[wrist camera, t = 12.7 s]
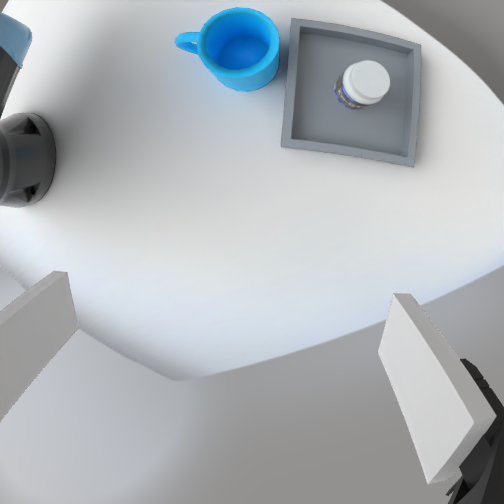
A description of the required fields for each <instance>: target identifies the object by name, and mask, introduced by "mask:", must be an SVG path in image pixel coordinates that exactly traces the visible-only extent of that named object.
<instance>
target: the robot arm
mask: <svg viewBox="0 0 504 504" xmlns="http://www.w3.org/2000/svg"><path fill="white" fill-rule="evenodd" d="M31 42H32V33H31V31H30V29H29V28H28V27H27V26H25V25H24V24H22V23H21V22H19V21H17V20H15V19H13V18H12V17H10V16H8V15H6V14H4V13H1V12H0V118H1V115H2V112H3V110H4V107H5V104H6V102H7V99H8V96H9V94H10V91H11V89H12V87H13V84H14V82H15V79H16V77H17V75H18V73H19V70H20V69H22V66H23V64H22V63H23V60H24V58H25V56H26V53H27V51H28V49H29V47H30V44H31ZM55 161H56V152H55V143H54V139H53V135H52V133H51V130H50V128H49V126H48V125H47V123H46V122H45V121H44V120H43V119H42V118H41V117H40V116H38V115H36V114H32V113H18V114H14V115H11V116H9V117H7V118H5V119H3V120H1V121H0V206H8V207H15V208H19V207H25V206H28V205H31V204H33V203H35V202H37V201H38V200H40V199H41V198H42V197H43V195H44V194H45V193H46V191H47V190H48V188H49V186H50V183H51V181H52V178H53V174H54V169H55ZM78 329H79V325H78V321H77V317H76V312H75V308H74V304H73V299H72V294H71V289H70V284H69V279H68V274H67V272H60V271H53V272H52V273H50V274H49V275H48V276H46V277H45V278H43V279H42V280H41V281H39V282H38V283H37V284H35V285H34V286H32V287H31V288H30V289H28V290H27V291H26V292H24V293H23V294H22V295H20V296H19V297H18V298H16V299H15V300H14V301H12V302H11V303H10V304H9V305H7V306H6V307H5V308H3V309H2V310H1V311H0V422H1V420H2V419H3V418H4V416H5V415H6V414H7V413H8V411H9V410H10V409H11V407H12V406H13V405H14V404H15V402H16V401H17V400H18V399H19V397H20V396H21V395H22V394H23V393H24V391H25V390H26V389H27V388H28V386H29V385H30V384H31V383H32V381H33V380H34V379H35V378H36V377H37V376H38V374H39V373H40V372H41V371H42V369H43V368H44V367H45V366H46V365H47V364H48V363H49V361H50V360H51V359H52V358H53V357H54V356H55V354H56V353H57V352H58V351H59V350H60V349H61V348H62V346H63V345H64V344H65V343H66V342H67V341H68V340H69V339H70V337H71V336H72V335H73V334H74V333H75V332H76V331H77V330H78ZM378 354H379V356H380V359H381V361H382V363H383V366H384V368H385V370H386V373H387V375H388V378H389V380H390V382H391V385H392V387H393V390H394V392H395V395H396V397H397V400H398V403H399V405H400V408H401V410H402V413H403V415H404V418H405V421H406V423H407V426H408V429H409V431H410V434H411V437H412V440H413V442H414V445H415V448H416V451H417V454H418V456H419V459H420V462H421V465H422V468H423V471H424V474H425V477H426V480H427V484H431V483H435V482H439V481H443V480H446V479H449V478H450V477H451V476H452V475H453V474H454V473H455V472H456V470H457V469H458V468H460V470H461V472H462V476H461V478H460V479H459V480H458V481H457V482H456V483H455V484H454V485H453V486H452V488H451V489H449V491H448V492H447V494H446V495H447V496H449V494H451V493H452V492H453V491H454V492H453V494H452V496H451V498H450V501H449V503H448V504H504V407H503V405H502V404H501V402H500V401H499V399H498V398H497V396H496V395H495V393H494V392H493V390H492V389H491V388H489V384H488V383H487V382H486V380H484V379H483V376H482V374H481V373H480V372H479V370H478V369H477V367H476V366H474V365H473V364H472V363H470V362H469V361H467V360H466V359H459V358H458V357H457V355H456V354H455V352H454V351H453V349H452V348H451V347H450V345H449V344H448V342H447V341H446V340H445V338H444V337H443V336H442V334H441V333H440V332H439V330H438V329H437V327H436V326H435V325H434V323H433V322H432V321H431V320H430V318H429V317H428V316H427V314H426V313H425V312H424V310H423V309H422V308H421V307H420V305H419V304H418V303H417V301H416V300H415V299H414V298H413V296H412V295H411V294H393V297H392V301H391V305H390V309H389V313H388V317H387V321H386V325H385V328H384V332H383V336H382V339H381V343H380V347H379V350H378Z"/></svg>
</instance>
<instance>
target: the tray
mask: <svg viewBox="0 0 504 504" xmlns="http://www.w3.org/2000/svg"><path fill="white" fill-rule="evenodd" d="M365 60H371V61H375V62H377V63H379V64H380V65H382V66H383V67H384V68H385V69H386V71H387V72H388V74H389V77H390V87H389V90H388V91H387V93H386V94H385V95H384V96H383V98H382V99H381V100H380V101H378V102H377V103H375V104H372V105H369V106H367V107H364V108H361V109H357V110H352V109H348V108H346V107H344V106H343V105H341V104H340V103H339V102H338V101H337V99H336V97H335V95H334V84H335V82H336V80H337V79H338V77H339V76H340V75H341V74H342V73H343V72H344V71H345V70H346V69H347V68H348V67H349V66H350V65H352V64H354V63H358V62H361V61H365ZM420 87H421V45H420V44H417V43H413V42H410V41H407V40H403V39H400V38H396V37H392V36H389V35H385V34H381V33H377V32H372V31H368V30H364V29H359V28H354V27H349V26H344V25H338V24H332V23H326V22H319V21H312V20H304V19H295V18H292V19H291V30H290V44H289V57H288V69H287V81H286V93H285V105H284V117H283V128H282V139H281V147H287V148H297V149H305V150H313V151H321V152H328V153H335V154H342V155H348V156H355V157H361V158H367V159H373V160H378V161H384V162H389V163H394V164H399V165H404V166H409V167H414V162H415V153H416V144H417V134H418V122H419V107H420Z"/></svg>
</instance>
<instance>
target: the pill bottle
mask: <svg viewBox="0 0 504 504" xmlns="http://www.w3.org/2000/svg"><path fill="white" fill-rule="evenodd" d="M389 87H390V77H389V74H388V72H387V71H386V69H385V68H384V67H383V66H382V65H380V64H379V63H377V62H375V61H371V60H365V61H361V62H358V63H354V64H352V65H350V66H349V67H348V68H347V69H346V70H345V71H344V72H343V73H342V74H341V75H340V76H339V77H338V79H337V80H336V82H335V84H334V95H335V97H336V99H337V101H338V102H339V103H340V104H341V105H343V106H344V107H346V108H348V109H352V110H357V109H361V108H364V107H367V106H369V105H372V104H375V103H377V102H378V101H380V100H381V99H382V98H383V96H384V95H385V94H386V93H387V91H388V90H389Z"/></svg>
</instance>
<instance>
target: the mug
mask: <svg viewBox="0 0 504 504" xmlns="http://www.w3.org/2000/svg"><path fill="white" fill-rule="evenodd" d="M191 42H197V44H194V43H191ZM175 43H176V46H177V47H179V48H181V49H183V50H186V51H188V52H191V53H195V54H198V55H199V57H200V58H201V60H202V61H203V63H204V65H205V66H206V67H207V68H208V69H209V70H210V71H211V72H212V73H213V74H214V75H215V76H216V77H217V79H218V80H219V81H220V82H222V83H223V84H224V85H225V86H227V87H229V88H231V89H234V90H236V91H252V90H257V89H259V88H261V87H263V86H265V85H267V84H268V83H269V82H270V81H271V80H272V79H273V78H274V76H275V74H276V72H277V70H278V67H279V54H280V38H279V34H278V31H277V28H276V26H275V25H274V23H273V22H272V21H271V19H270V18H268V17H267V16H266V15H264V14H263V13H261V12H259V11H256V10H253V9H250V8H232V9H228V10H224V11H222V12H220V13H218V14H216V15H214V16H212V17H211V18H210V19H209V20H208V21H207V22H206V23H205V24H204V26H203V27H202V29H201V31H200V32H186V33H181V34H180V35H178V36H177V37H176V38H175Z"/></svg>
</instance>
